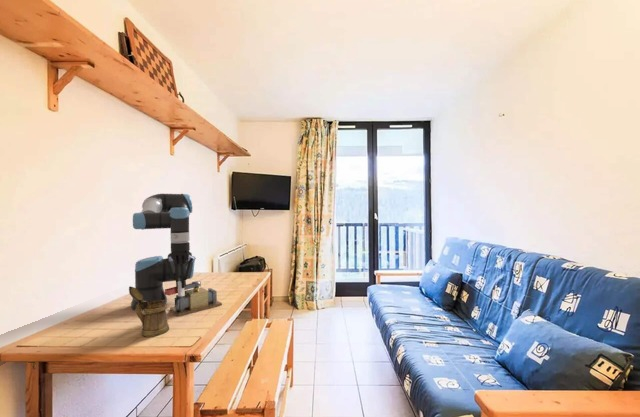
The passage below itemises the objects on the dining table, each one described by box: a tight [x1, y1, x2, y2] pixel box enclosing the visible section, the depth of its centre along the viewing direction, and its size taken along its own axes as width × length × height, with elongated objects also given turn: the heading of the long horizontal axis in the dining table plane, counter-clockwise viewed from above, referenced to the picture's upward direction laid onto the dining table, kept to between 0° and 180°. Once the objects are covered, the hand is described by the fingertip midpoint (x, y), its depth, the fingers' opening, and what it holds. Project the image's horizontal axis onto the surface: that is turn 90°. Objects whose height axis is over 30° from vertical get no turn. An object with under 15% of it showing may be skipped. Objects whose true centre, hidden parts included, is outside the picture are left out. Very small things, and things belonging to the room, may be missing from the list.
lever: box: [164, 280, 202, 296], centre depth 127 cm, size 16×4×2 cm, turn 151°
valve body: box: [169, 286, 223, 317], centre depth 132 cm, size 12×20×10 cm, turn 134°
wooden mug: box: [128, 286, 170, 338], centre depth 106 cm, size 9×14×18 cm, turn 102°
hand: (181, 295), depth 123 cm, fingers closed
